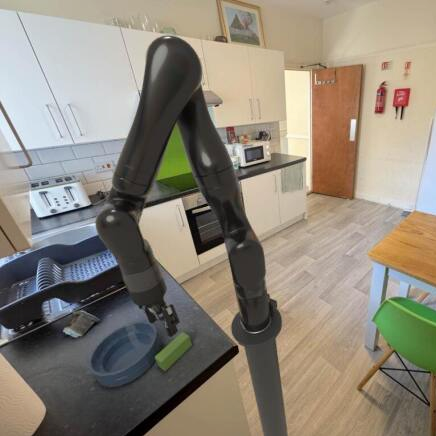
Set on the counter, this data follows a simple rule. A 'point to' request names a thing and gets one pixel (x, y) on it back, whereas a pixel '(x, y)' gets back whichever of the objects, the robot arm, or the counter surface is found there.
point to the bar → (173, 351)
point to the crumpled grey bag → (80, 323)
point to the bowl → (125, 354)
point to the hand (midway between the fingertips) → (163, 327)
